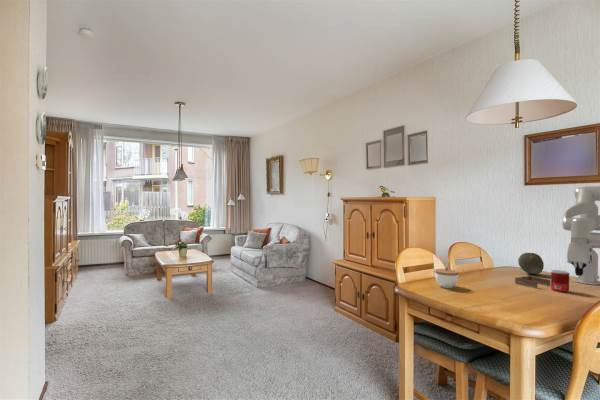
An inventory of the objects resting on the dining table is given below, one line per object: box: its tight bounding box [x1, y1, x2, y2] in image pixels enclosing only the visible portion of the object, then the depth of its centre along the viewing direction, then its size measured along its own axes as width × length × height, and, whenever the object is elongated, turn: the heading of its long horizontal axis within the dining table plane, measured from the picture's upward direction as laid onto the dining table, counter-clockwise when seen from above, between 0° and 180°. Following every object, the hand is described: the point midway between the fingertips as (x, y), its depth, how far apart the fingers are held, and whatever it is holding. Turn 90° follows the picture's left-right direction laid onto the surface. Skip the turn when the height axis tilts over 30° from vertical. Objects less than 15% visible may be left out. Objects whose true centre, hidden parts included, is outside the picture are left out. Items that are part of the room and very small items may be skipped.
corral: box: [514, 275, 551, 289], centre depth 200 cm, size 14×12×4 cm
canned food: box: [550, 269, 570, 294], centre depth 187 cm, size 8×8×11 cm
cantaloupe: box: [517, 252, 545, 276], centre depth 228 cm, size 14×14×15 cm
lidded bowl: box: [434, 266, 459, 289], centre depth 193 cm, size 13×13×11 cm
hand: (579, 275), depth 178 cm, fingers closed
